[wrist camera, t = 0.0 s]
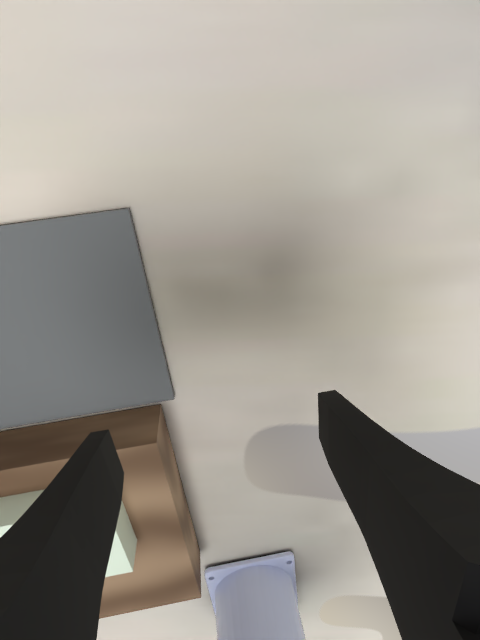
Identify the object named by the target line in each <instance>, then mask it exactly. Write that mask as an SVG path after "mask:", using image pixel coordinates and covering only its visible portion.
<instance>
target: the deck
mask: <svg viewBox="0 0 480 640" xmlns="http://www.w3.org/2000/svg"><path fill="white" fill-rule="evenodd" d="M107 429H109V431H110V434H111V437H112V440H113V443H114V445H115V448H116V451H117V454H118V457H119V459H120V462H121V465H122V468H123V471H124V482H123V493H122V502H123V504H124V507H125V509H126V512H127V515H128V517H129V520H130V523H131V525H132V528H133V530H134V533H135V536H136V538H137V545H136V553H135V560H134V567H133V572H129V573H124V574H119V575H114V576H109V577H105V580H104V586H103V591H102V598H101V606H100V614H99V619H100V618H105V617H109V616H114V615H119V614H124V613H129V612H133V611H138V610H143V609H148V608H153V607H158V606H162V605H167V604H172V603H177V602H182V601H187V600H191V599H196V598H201V574H200V550H199V546H198V543H197V539H196V535H195V531H194V527H193V524H192V520H191V516H190V512H189V509H188V505H187V501H186V497H185V493H184V490H183V486H182V482H181V478H180V475H179V471H178V467H177V463H176V459H175V456H174V452H173V448H172V444H171V441H170V437H169V433H168V429H167V425H166V422H165V418H164V414H163V410H162V407H161V404H159V405H153V406H148V407H142V408H136V409H130V410H124V411H118V412H112V413H107V414H101V415H95V416H89V417H83V418H77V419H72V420H66V421H60V422H54V423H48V424H42V425H36V426H31V427H25V428H19V429H13V430H7V431H1V432H0V497H6V496H11V495H17V494H22V493H28V492H33V491H39V490H44V489H46V488H47V486H48V485H49V484H50V483H51V481H52V480H53V479H54V478H55V477H56V475H57V474H58V473H59V472H60V470H61V469H62V468H63V467H64V465H65V464H66V463H67V461H68V460H69V459H70V458H71V456H72V455H73V454H74V452H75V451H76V450H77V449H78V447H79V446H80V445H81V444H82V442H83V441H84V440H85V438H86V437H87V436H88V435H89V434H90V432H96V431H102V430H107Z"/></svg>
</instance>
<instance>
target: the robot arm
mask: <svg viewBox="0 0 480 640" xmlns="http://www.w3.org/2000/svg"><path fill="white" fill-rule="evenodd" d="M318 411H319V439H320V442H321V444H322V447H323V450H324V453H325V456H326V458H327V461H328V464H329V466H330V468H331V470H332V472H333V475H334V477H335V479H336V481H337V483H338V485H339V487H340V489H341V491H342V493H343V495H344V497H345V499H346V501H347V503H348V505H349V507H350V509H351V511H352V513H353V515H354V517H355V519H356V521H357V523H358V525H359V527H360V529H361V532H362V534H363V536H364V538H365V541H366V543H367V546H368V548H369V551H370V553H371V556H372V559H373V561H374V564H375V566H376V569H377V572H378V574H379V577H380V580H381V582H382V585H383V588H384V590H385V593H386V596H387V598H388V601H389V604H390V606H391V609H392V612H393V615H394V618H395V621H396V623H397V626H398V629H399V632H400V635H401V637H402V640H480V485H479V484H477V483H475V482H473V481H471V480H469V479H467V478H465V477H463V476H461V475H459V474H457V473H455V472H453V471H451V470H449V469H447V468H445V467H443V466H441V465H440V464H438V463H436V462H434V461H432V460H431V459H429V458H427V457H426V456H424V455H422V454H421V453H419V452H417V451H416V450H414V449H412V448H411V447H409V446H408V445H406V444H405V443H403V442H402V441H400V440H399V439H397V438H396V437H394V436H393V435H392V434H390V433H389V432H387V431H386V430H385V429H383V428H382V427H381V426H379V425H378V424H377V423H375V422H374V421H373V420H371V419H370V418H369V417H368V416H366V415H365V414H364V413H363V412H361V411H360V410H359V409H358V408H356V407H355V406H354V405H353V404H352V403H350V402H349V401H348V400H347V399H346V398H344V397H343V396H342V395H341V394H340V393H338V392H337V391H336V390H333V391H327V392H321V393H318ZM123 482H124V471H123V468H122V465H121V462H120V459H119V457H118V454H117V451H116V448H115V445H114V443H113V440H112V437H111V434H110V431H109V429H107V430H102V431H96V432H90V434H89V435H88V436H87V437H86V438H85V440H84V441H83V442H82V444H81V445H80V446H79V447H78V449H77V450H76V451H75V452H74V454H73V455H72V456H71V458H70V459H69V460H68V461H67V463H66V464H65V465H64V467H63V468H62V469H61V470H60V472H59V473H58V474H57V475H56V477H55V478H54V479H53V480H52V481H51V483H50V484H49V485H48V486H47V488H46V489H45V490H44V491H43V492H42V493H41V494H40V496H39V497H38V498H37V499H36V500H35V501H34V502H33V504H32V505H31V506H30V507H29V508H28V509H27V510H26V512H25V513H24V514H23V515H22V516H21V517H20V518H19V519H18V520H17V521H16V522H15V523H14V524H13V526H12V527H11V528H10V529H9V530H8V531H7V532H6V533H5V534H4V535H3V536H2V537H1V538H0V640H96V638H97V629H98V621H99V614H100V606H101V598H102V591H103V586H104V580H105V575H106V571H107V566H108V562H109V557H110V553H111V548H112V544H113V539H114V535H115V531H116V526H117V521H118V517H119V512H120V507H121V502H122V493H123ZM205 579H206V582H207V586H208V590H209V593H210V597H211V601H212V605H213V608H214V612H215V616H216V625H217V640H306V639H305V634H304V630H303V626H302V622H301V618H300V613H299V609H298V600H297V587H296V574H295V561H294V555H293V553H292V552H290V551H288V552H283V553H278V554H273V555H268V556H263V557H258V558H253V559H248V560H243V561H238V562H233V563H228V564H223V565H218V566H213V567H209V568H207V569H206V570H205Z"/></svg>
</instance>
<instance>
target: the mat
mask: <svg viewBox="0 0 480 640" xmlns="http://www.w3.org/2000/svg"><path fill="white" fill-rule="evenodd" d="M168 400H174V391H173V387H172V383H171V379H170V375H169V371H168V366H167V362H166V358H165V354H164V350H163V346H162V341H161V337H160V333H159V329H158V325H157V321H156V317H155V312H154V308H153V304H152V300H151V296H150V292H149V287H148V283H147V279H146V275H145V271H144V267H143V262H142V258H141V254H140V250H139V246H138V242H137V237H136V233H135V229H134V225H133V221H132V217H131V213H130V208H123V209H116V210H109V211H101V212H94V213H86V214H79V215H72V216H64V217H57V218H49V219H42V220H35V221H27V222H20V223H12V224H5V225H0V429H4V428H10V427H15V426H21V425H27V424H33V423H39V422H45V421H51V420H56V419H62V418H68V417H74V416H80V415H86V414H92V413H97V412H103V411H109V410H115V409H121V408H127V407H133V406H138V405H144V404H150V403H156V402H162V401H168Z"/></svg>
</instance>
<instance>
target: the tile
mask: <svg viewBox="0 0 480 640" xmlns="http://www.w3.org/2000/svg"><path fill="white" fill-rule="evenodd" d="M44 490H45V489H44ZM44 490H39V491H33V492H28V493H22V494H17V495H11V496H6V497H0V538H1V537H2V536H3V535H4V534H5V533H6V532H7V531H8V530H9V529H10V528H11V527H12V526H13V524H14V523H15V522H16V521H17V520H18V519H19V518H20V517H21V516H22V515H23V514H24V513H25V512H26V510H27V509H28V508H29V507H30V506H31V505H32V504H33V502H34V501H35V500H36V499H37V498H38V497H39V496H40V494H41V493H42V492H43V491H44ZM136 545H137V538H136V536H135V533H134V530H133V528H132V525H131V523H130V520H129V517H128V515H127V512H126V509H125V507H124V504H123V502H121V507H120V512H119V517H118V521H117V526H116V531H115V535H114V539H113V544H112V548H111V553H110V557H109V562H108V566H107V571H106V575H105V577H109V576H114V575H119V574H124V573H129V572H133V567H134V560H135V553H136Z"/></svg>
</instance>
